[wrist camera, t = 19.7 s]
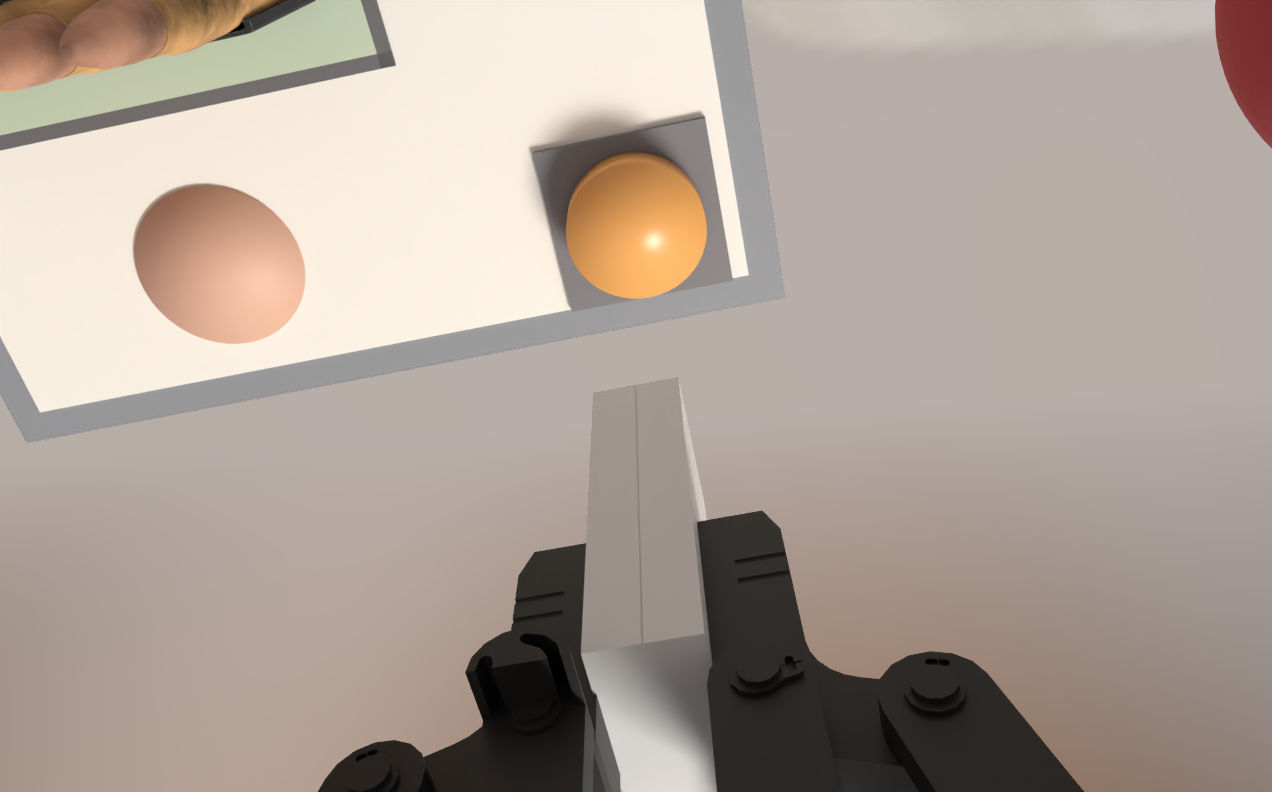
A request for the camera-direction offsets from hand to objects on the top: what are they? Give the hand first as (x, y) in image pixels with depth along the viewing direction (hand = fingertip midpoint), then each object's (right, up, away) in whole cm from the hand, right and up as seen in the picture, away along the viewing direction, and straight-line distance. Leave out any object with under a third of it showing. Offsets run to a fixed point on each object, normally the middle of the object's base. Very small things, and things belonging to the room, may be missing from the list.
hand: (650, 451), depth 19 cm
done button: (0, +6, +12) cm, 14 cm away
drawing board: (-10, +9, +12) cm, 18 cm away
